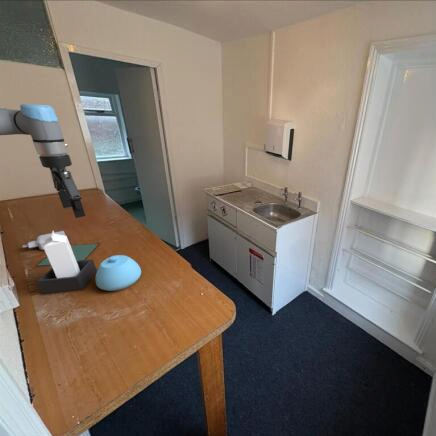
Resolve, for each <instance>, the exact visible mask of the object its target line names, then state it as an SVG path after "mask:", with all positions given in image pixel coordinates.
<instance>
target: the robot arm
mask: <svg viewBox="0 0 436 436" xmlns="http://www.w3.org/2000/svg"><path fill="white" fill-rule="evenodd" d="M19 108H20V109H11V108H0V136H13V135H14V136H15V135H23V136H24V135H25V136H30V137H31V140H32V143H33V145H34V147H35V148H34V149H35V151H36V153H37V155H39V156H38V158H39V161H40V164H41V166H42V167H43V168H46V169H49V171H50V174H51V175H50V176H51V179H52V182H53V185H54V186H53V187H54V189H55V190H56V192H57V194H58V197H59V199H60V202H61V205H62V208H63V209H68V208H72V212H73V215H74V217H75V218H76V219H78V218H83V217H86V216H87V215H86V213H85V210H84V207H83V204H82V199H83V198H82V196H81V194H80V191H79V189H78V188H77V185H76V183H75V181H74V178H73V176H72V172H71V171H70V170H67V167H71V166H72V165H73V162H72V159H71V156H70V155H69V154H68V153H69V151H68V148H67V147H69V144H68V143H66V142H65V138H64V136H63V132H62V129H61V125H60V123H59V118H58V116H57V114H56V111H55V109H54V108H53V106H51V105H48V104H37V103H36V104H34V103H21V104H20V105H19Z"/></svg>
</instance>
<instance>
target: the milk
mask: <svg viewBox="0 0 436 436" xmlns="http://www.w3.org/2000/svg"><path fill="white" fill-rule="evenodd" d="M51 233H52V235H51V236H50V237H49V238H47V239H46V240H45V242H44V245H43V248H44V252H45V255H46V258H47V257H48V259H49V261H50V264H51V265H50V267H51V268H53V270H54V273H55V275H56V277H57V278H65V277H74V276H77V275H78V273H79V272H80V269H79V267H78V264H77V261H76V259H75V256H74V254H73V251H72V248H71V246H72V245H71V244H70V243H71V242H70V240H69V238H68V236H67V235H66V234H65V235H66V236H65V235H59V234H55V231H54V230H52V232H51Z"/></svg>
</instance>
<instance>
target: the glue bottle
mask: <svg viewBox="0 0 436 436" xmlns="http://www.w3.org/2000/svg"><path fill="white" fill-rule="evenodd" d="M54 233H55V234H59V235H65V236H67V235H66V233H65V231H64V230H60V231H54ZM51 235H52V232H50V233H46V234H41V235H38V236H37V237H36V240H33V241H28V243H27V244H23V245H22V247H21V248H22V249H24V248H27V247H28V249H33V248H39V250H42V251H43V250H44V248H43V245H44V242H45V240H46V239H47V238H49V237H50V236H51ZM44 251H45V250H44Z"/></svg>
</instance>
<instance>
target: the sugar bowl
mask: <svg viewBox="0 0 436 436" xmlns="http://www.w3.org/2000/svg"><path fill="white" fill-rule="evenodd" d="M141 276H142V269H141V267H140V265H139V264H138V262H137V261H136V260H135V259H133V258H131V257H129V256H128V255H125V254H118V255H117V254H116V255H115V254H114V255H111V256H110V257H107V258H106V259H104V260H103V261H101V263H100V264H99V266H98V268H97V271H96V273H95V284H96V286H97V288H99V289H100V290H103V291H107V292H116V291H117V292H118V291H121V290H124V289H127V288H129V287H131V286H132V285H134V284H135V283H136V282H137V281H138V280H139V279H140V277H141Z"/></svg>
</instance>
